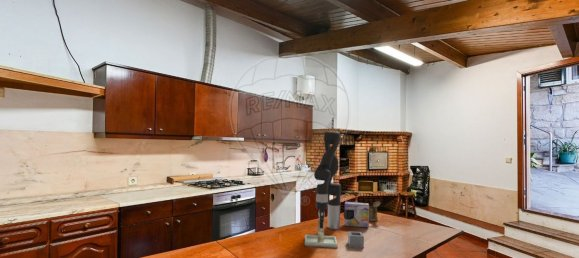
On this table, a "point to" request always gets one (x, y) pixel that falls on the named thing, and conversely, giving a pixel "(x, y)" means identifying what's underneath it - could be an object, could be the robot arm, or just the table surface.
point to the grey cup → (355, 239)
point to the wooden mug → (373, 211)
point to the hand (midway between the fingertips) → (321, 226)
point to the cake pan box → (356, 214)
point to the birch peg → (320, 232)
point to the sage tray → (328, 242)
